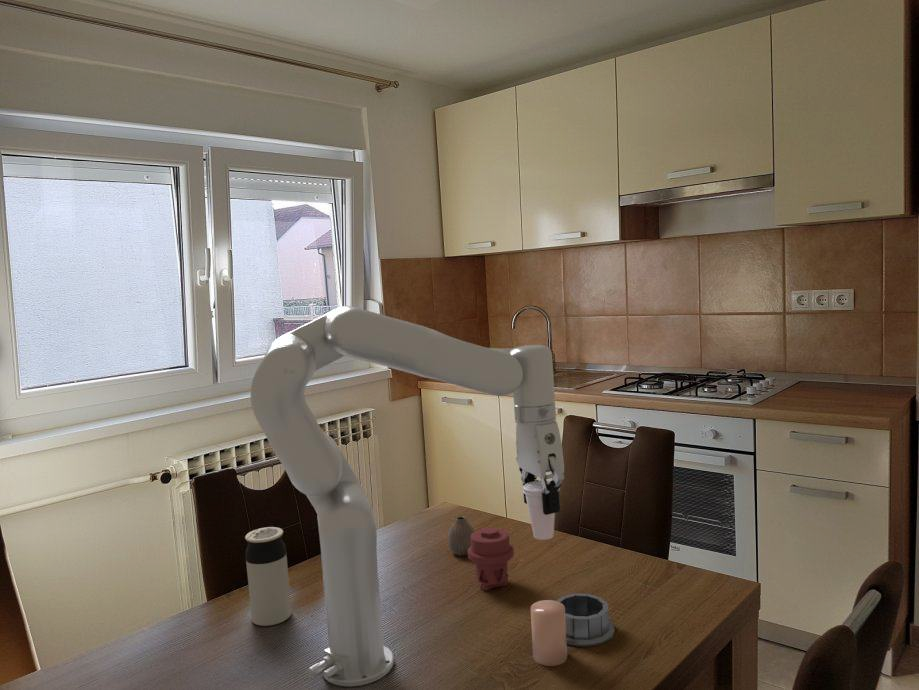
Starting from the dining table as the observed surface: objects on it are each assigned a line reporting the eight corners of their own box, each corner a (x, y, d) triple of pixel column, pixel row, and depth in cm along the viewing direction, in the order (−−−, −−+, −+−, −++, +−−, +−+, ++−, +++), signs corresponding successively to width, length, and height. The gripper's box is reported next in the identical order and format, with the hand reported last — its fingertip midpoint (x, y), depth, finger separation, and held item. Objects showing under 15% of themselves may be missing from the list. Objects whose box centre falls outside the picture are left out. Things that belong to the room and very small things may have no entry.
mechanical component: (471, 575, 159) (515, 574, 158) (467, 595, 149) (515, 594, 148) (468, 522, 158) (513, 521, 157) (464, 539, 148) (512, 538, 147)
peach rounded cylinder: (555, 670, 119) (552, 619, 119) (526, 659, 123) (523, 610, 122) (573, 654, 124) (571, 605, 123) (545, 644, 128) (542, 597, 127)
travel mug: (298, 609, 147) (291, 527, 145) (279, 628, 139) (271, 541, 138) (265, 607, 149) (257, 525, 147) (244, 625, 142) (235, 539, 140)
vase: (445, 550, 174) (443, 515, 173) (471, 545, 176) (469, 511, 175) (453, 560, 168) (451, 525, 167) (480, 555, 170) (478, 520, 169)
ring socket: (594, 654, 124) (593, 628, 123) (537, 634, 131) (536, 610, 131) (626, 625, 133) (625, 601, 132) (571, 608, 140) (570, 585, 140)
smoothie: (560, 542, 127) (554, 467, 125) (524, 542, 128) (519, 468, 127) (561, 529, 133) (556, 457, 132) (528, 529, 134) (522, 458, 133)
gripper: (578, 417, 122) (584, 516, 123) (530, 403, 137) (536, 491, 139) (540, 424, 119) (547, 526, 121) (495, 408, 135) (502, 499, 136)
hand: (541, 506), depth 130 cm, fingers closed on smoothie, 6 cm apart
